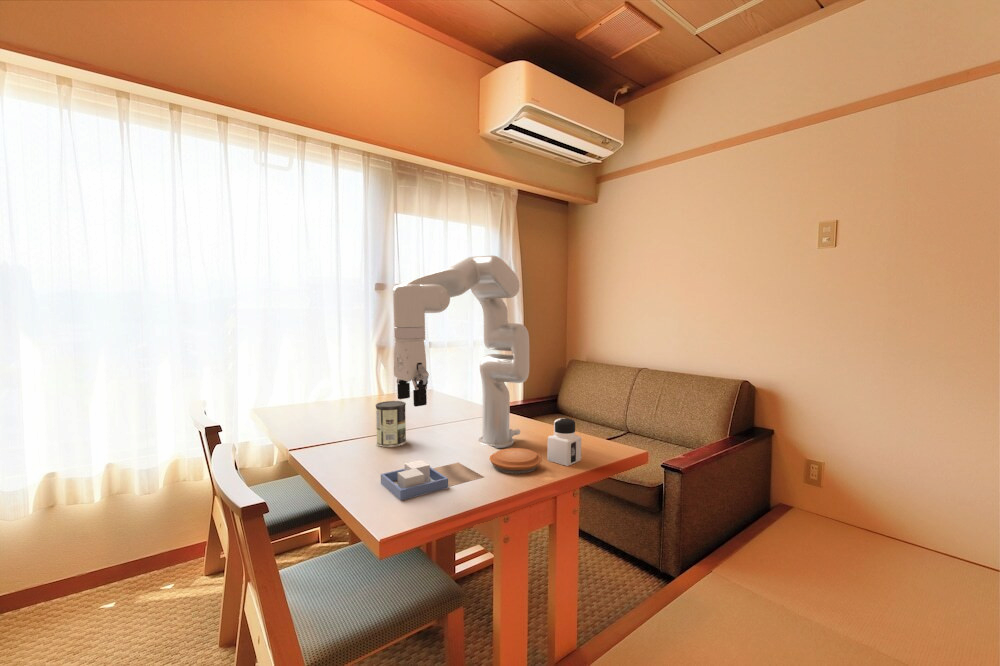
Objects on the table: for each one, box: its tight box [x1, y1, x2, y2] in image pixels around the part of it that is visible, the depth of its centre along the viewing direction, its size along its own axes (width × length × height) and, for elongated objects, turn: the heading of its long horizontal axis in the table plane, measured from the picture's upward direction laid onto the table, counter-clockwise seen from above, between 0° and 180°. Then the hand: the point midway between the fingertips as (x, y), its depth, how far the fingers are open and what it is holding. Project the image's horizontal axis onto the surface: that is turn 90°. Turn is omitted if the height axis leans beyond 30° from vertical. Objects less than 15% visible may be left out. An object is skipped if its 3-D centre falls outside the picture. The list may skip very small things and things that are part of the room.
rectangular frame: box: [380, 466, 449, 501], centre depth 111 cm, size 13×13×4 cm
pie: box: [489, 447, 543, 474], centre depth 126 cm, size 15×16×5 cm
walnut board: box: [432, 462, 484, 487], centre depth 120 cm, size 11×14×1 cm
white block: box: [404, 459, 431, 483], centre depth 115 cm, size 5×5×5 cm
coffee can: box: [375, 400, 407, 448], centre depth 151 cm, size 10×10×14 cm
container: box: [546, 417, 582, 467], centre depth 133 cm, size 8×8×13 cm
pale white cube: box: [397, 468, 424, 489], centre depth 108 cm, size 5×5×5 cm
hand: (411, 401), depth 108 cm, fingers open, 9 cm apart
